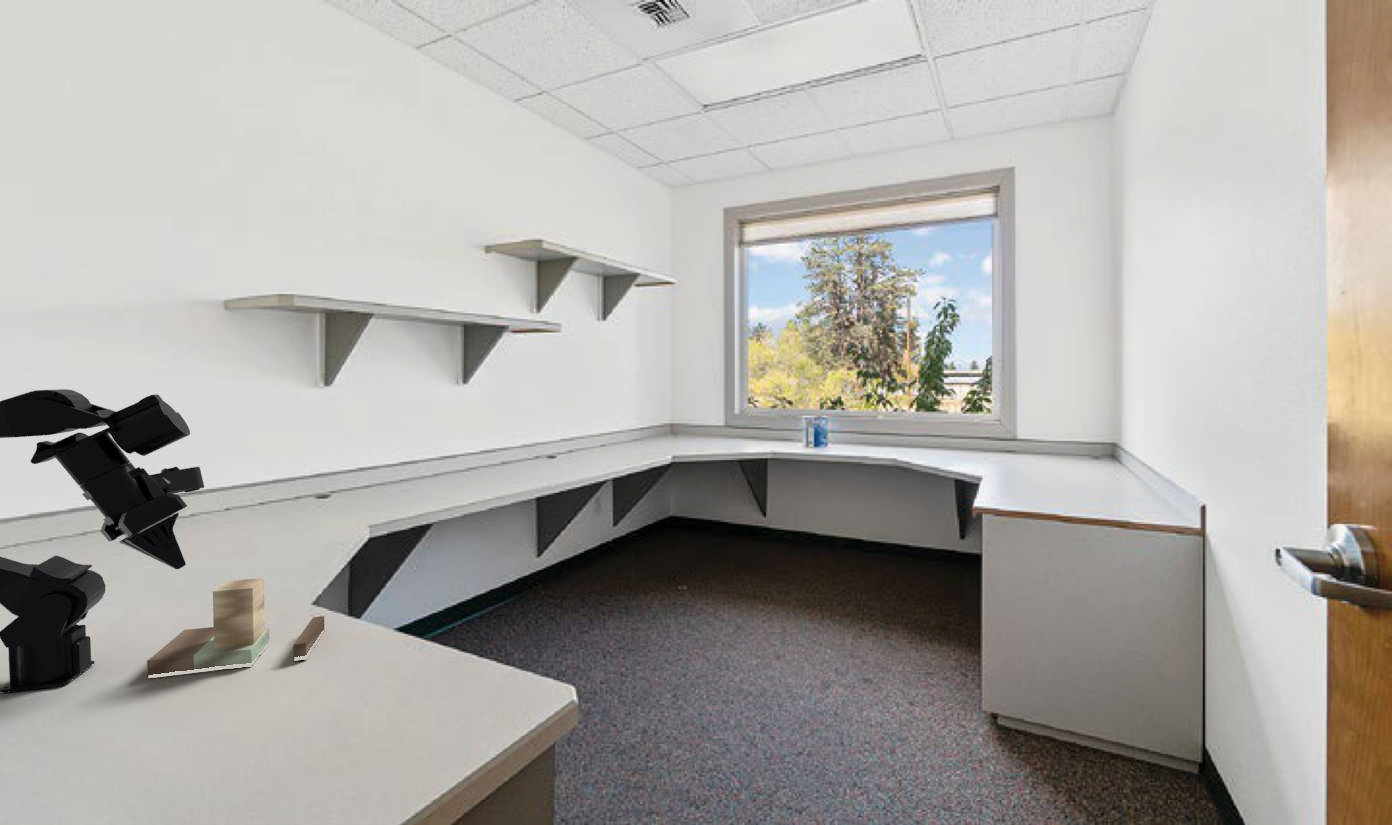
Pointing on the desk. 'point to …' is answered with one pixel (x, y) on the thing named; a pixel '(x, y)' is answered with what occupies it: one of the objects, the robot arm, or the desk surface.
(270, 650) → the desk surface
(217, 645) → the beech block
